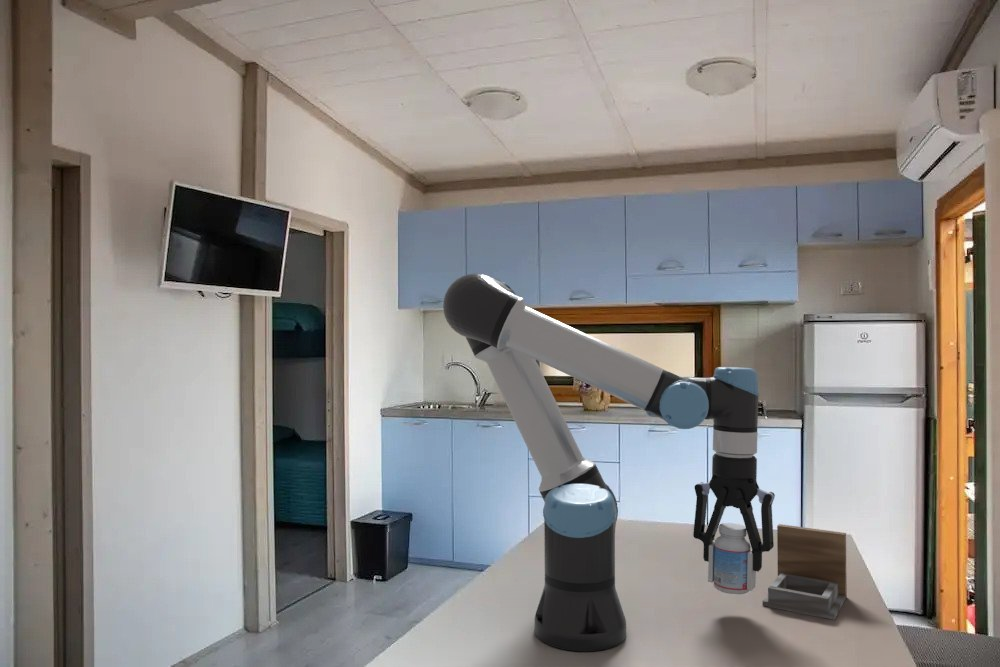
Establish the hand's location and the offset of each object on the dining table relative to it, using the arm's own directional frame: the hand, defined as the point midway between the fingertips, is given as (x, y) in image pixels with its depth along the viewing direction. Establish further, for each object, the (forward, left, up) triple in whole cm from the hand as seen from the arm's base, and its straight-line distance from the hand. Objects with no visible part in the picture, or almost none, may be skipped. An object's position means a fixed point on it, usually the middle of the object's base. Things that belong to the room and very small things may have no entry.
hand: (731, 583), depth 127 cm
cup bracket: (+13, -10, -5) cm, 17 cm away
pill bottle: (0, 0, -1) cm, 1 cm away
